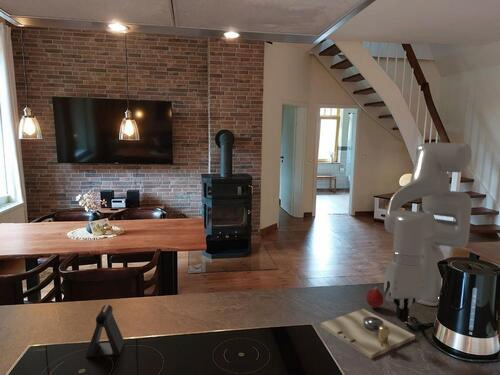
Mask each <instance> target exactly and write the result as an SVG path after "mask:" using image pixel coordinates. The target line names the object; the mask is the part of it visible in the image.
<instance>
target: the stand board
mask: <svg viewBox="0 0 500 375" xmlns="http://www.w3.org/2000/svg"><path fill="white" fill-rule="evenodd" d="M365 317H376V318H379V319H380V320H382V321H383V325H385V326H387V327H388V328H389V332H388V343H387V346H388V348H385V347H384V345H383V344H381V343H379V342H378V338H377V336H376V334H375V333H374V331H373V330H371V329H368V328H366V327H365V326H364V325H363V319H364V318H365ZM320 327H321V328H322V329H324V330H325V331H327V332H329V333H330V334H332V335H333V336H335V337H336V338H337V339H339V340H341V341H342V342H344V343H346V344H347V345H349V346H350V347H351V348H353V349H355V350H356V351H357V352H359V353H361V354H362V355H364V356H365V357H367V358H368V359H370V360H372V359H374V358H376V357H379V356H381V355H383V354H385V353H387V352H389V351H392V350H394V349H396V348H398V347H401V346H403V345H406V344H407V343H410V342H412V341H414V340H415V339H416V335H415V334H413V333H411V332H410V331H407V330H405V329H403V328H401V327H399V326H398V325H396V324H393V323H392V322H389V321H388V320H386V319H385V318H382V317H380V316H378V315H376V314H375V313H372V312H370V311H368V310H366V309H365V308H361V309H359V310H356V311H352V312H350V313H347V314H344V315H341V316H338V317H334V318H332V319H329V320H325V321H323V322H321V323H320Z"/></svg>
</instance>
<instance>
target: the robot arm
mask: <svg viewBox="0 0 500 375" xmlns="http://www.w3.org/2000/svg"><path fill="white" fill-rule="evenodd" d="M415 157H416V158H415V162H414V166H413V169H412V173H411V177H410V180H409V182H408V183H406V184H405V185H403V186H402V187H401V188H399V190H397V191H396V192H394V194H393V195H392V197H390V200H389V202H388V205H387V208H386V212H385V215H384V216H385V217H384V228H385V230H386V231H387V232H388V233H391V234H393V242H392V243H393V247H392V259H391V260H389V262H388V264H387V267H386V271H385V276H384V282H383V292H384V293H386V294H385V299H384V300H386V301H387V302H390V303H394V305H395V306H396V309H395V311H396V312H395V316H396V319H398V320H399V321H400V322H401V323H408V322H409V321H408V320H409V314H410V313H409V312H410V309H412V306H413V304H414V303H418V304H422V305H426V306H433V307H437V304H438V297H439V293H440V288H441V276H440V273H439V269H438V266H437V263H438V262H439V261H442V260H444V261H445V255H444V252H443V251H442V250H441V248H440V247H439V246H442V247H443V246H444V247H448V248H456V249H463V248H465V247H467V245H468V243H469V239H470V231H471V230H470V228H471V217H472V199H471V196H470V195H469V194H468V193H467V192H464V191H454V190H450V180H451V178H450V174H449V173H463V172H464V171H466V169H467V168H468V166H469V165H470V163H471V161H472V148H471V146H470V145H469V144H468V143H465V142H424V143H422V144H421V143H420V144H419V145H418V146H417V147H416V150H415ZM419 199H422V200H421V209H422V211H423V212H420V211H412V210H403V209H401V208H402V206H403V205H405V204H407V203H408V202H411V201H414V200H419ZM435 216H440V217H448V218H453V219H454V220H450V219H449V220H447V219H443V218H442V219H440V218H435Z"/></svg>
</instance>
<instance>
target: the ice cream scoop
mask: <svg viewBox="0 0 500 375" xmlns="http://www.w3.org/2000/svg"><path fill="white" fill-rule="evenodd" d="M363 325H364V326H365V327H366V328H368V329H371V330H373V331H374V333H375V334H376V336H377V338H378V342H379V343H381V344H383V345H384V347H385V348H388V346H387V343H388V332H389V328H388V327H387V326H385V325H383V321H382V320H380V319H379V318H376V317H365V318H364V319H363Z"/></svg>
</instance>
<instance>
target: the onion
mask: <svg viewBox="0 0 500 375" xmlns="http://www.w3.org/2000/svg"><path fill="white" fill-rule="evenodd" d="M365 299H366V302H367V304H368V305H369V306H371V308H373V309H377V308H379V307H381V306H382V305H383V303H384V300H385V299H384V295H383V294H382V292H381V291H380V290H379V288H378V286H376V287H374V288H372V289H370V290H369V291H368V292H367V294H366V297H365Z"/></svg>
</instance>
